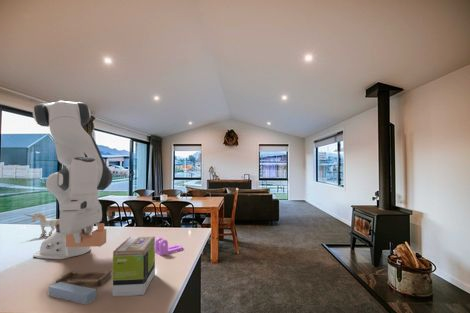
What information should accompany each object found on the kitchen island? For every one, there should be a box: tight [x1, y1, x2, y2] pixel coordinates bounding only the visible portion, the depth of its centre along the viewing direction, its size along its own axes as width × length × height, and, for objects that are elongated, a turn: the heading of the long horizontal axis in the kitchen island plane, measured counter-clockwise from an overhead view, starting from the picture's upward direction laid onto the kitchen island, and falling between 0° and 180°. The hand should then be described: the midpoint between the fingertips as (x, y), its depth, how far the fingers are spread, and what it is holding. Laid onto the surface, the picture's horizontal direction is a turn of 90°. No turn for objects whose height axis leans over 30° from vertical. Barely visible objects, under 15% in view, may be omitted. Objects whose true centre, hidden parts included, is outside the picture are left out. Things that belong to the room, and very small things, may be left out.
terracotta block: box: [66, 222, 107, 248], centre depth 86 cm, size 12×4×8 cm, turn 93°
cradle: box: [55, 270, 112, 287], centre depth 86 cm, size 15×8×2 cm, turn 93°
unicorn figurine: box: [25, 212, 60, 237], centre depth 142 cm, size 7×20×13 cm, turn 100°
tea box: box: [112, 236, 156, 297], centre depth 84 cm, size 15×10×15 cm, turn 5°
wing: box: [48, 282, 98, 305], centre depth 76 cm, size 16×4×3 cm, turn 72°
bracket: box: [155, 237, 184, 257], centre depth 117 cm, size 13×6×7 cm, turn 133°
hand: (83, 240), depth 86 cm, fingers closed on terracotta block, 4 cm apart
